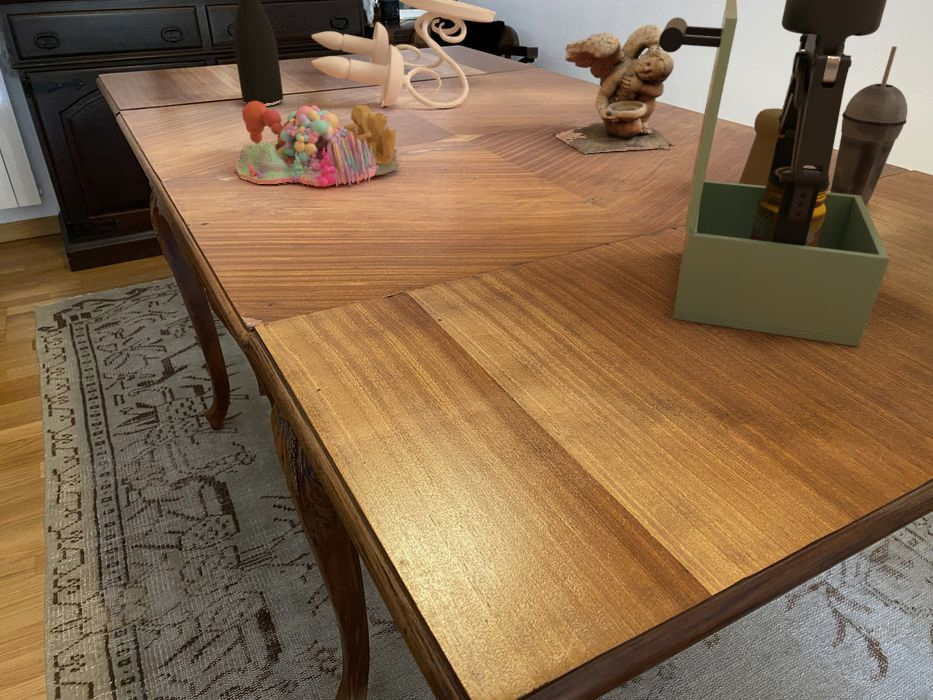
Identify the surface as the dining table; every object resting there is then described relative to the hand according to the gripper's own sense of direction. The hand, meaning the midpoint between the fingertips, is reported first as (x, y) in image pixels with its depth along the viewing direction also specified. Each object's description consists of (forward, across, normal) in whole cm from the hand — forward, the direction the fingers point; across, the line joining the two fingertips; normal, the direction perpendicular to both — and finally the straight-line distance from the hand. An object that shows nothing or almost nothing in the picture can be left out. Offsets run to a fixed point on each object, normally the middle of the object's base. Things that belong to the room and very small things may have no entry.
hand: (780, 225), depth 68 cm
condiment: (+7, 0, 0) cm, 7 cm away
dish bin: (+7, 0, 0) cm, 8 cm away
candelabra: (+7, -80, -72) cm, 107 cm away
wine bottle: (+7, -57, -93) cm, 110 cm away
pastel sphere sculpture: (+7, -24, -63) cm, 68 cm away
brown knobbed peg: (+8, -34, +1) cm, 35 cm away
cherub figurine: (+8, -54, -23) cm, 59 cm away
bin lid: (-10, 0, -8) cm, 13 cm away
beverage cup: (+8, -31, +12) cm, 34 cm away
